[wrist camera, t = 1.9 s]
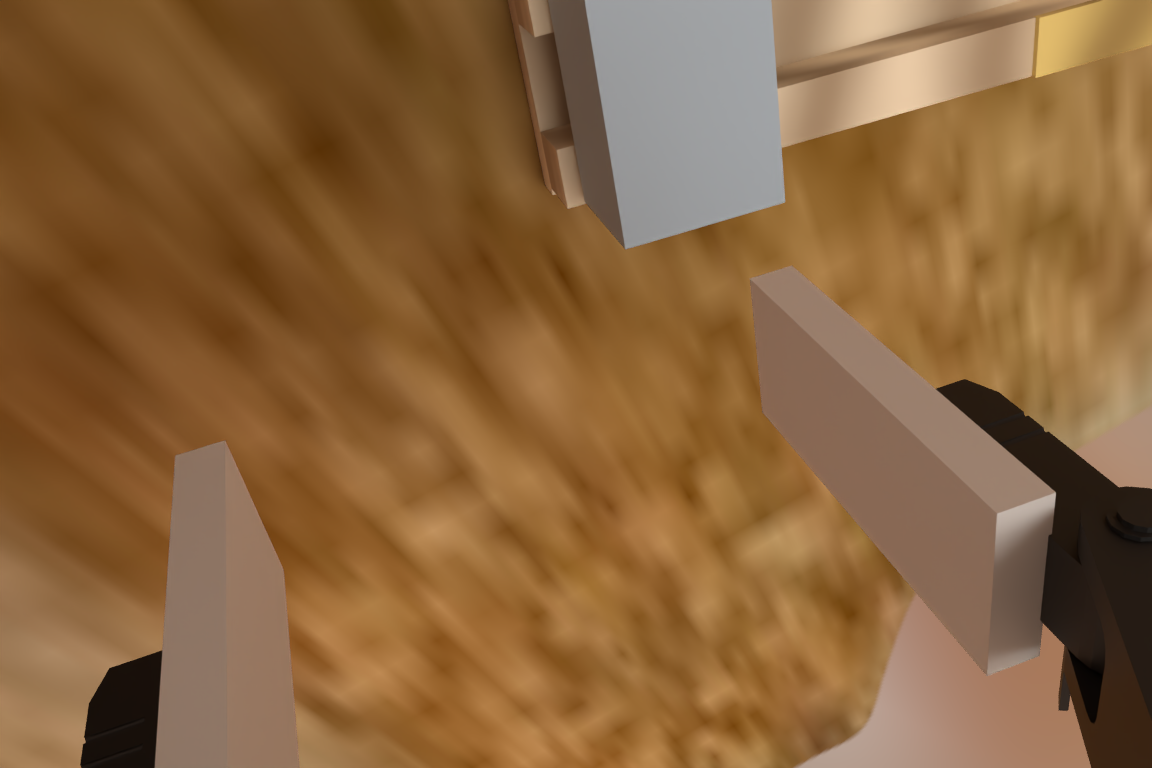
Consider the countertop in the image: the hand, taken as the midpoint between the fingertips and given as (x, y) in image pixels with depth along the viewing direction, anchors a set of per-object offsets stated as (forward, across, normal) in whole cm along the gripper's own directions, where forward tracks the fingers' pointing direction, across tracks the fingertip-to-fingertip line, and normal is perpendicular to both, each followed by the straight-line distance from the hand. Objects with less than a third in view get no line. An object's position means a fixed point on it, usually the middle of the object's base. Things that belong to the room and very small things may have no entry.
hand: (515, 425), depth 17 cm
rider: (+18, +8, 0) cm, 20 cm away
